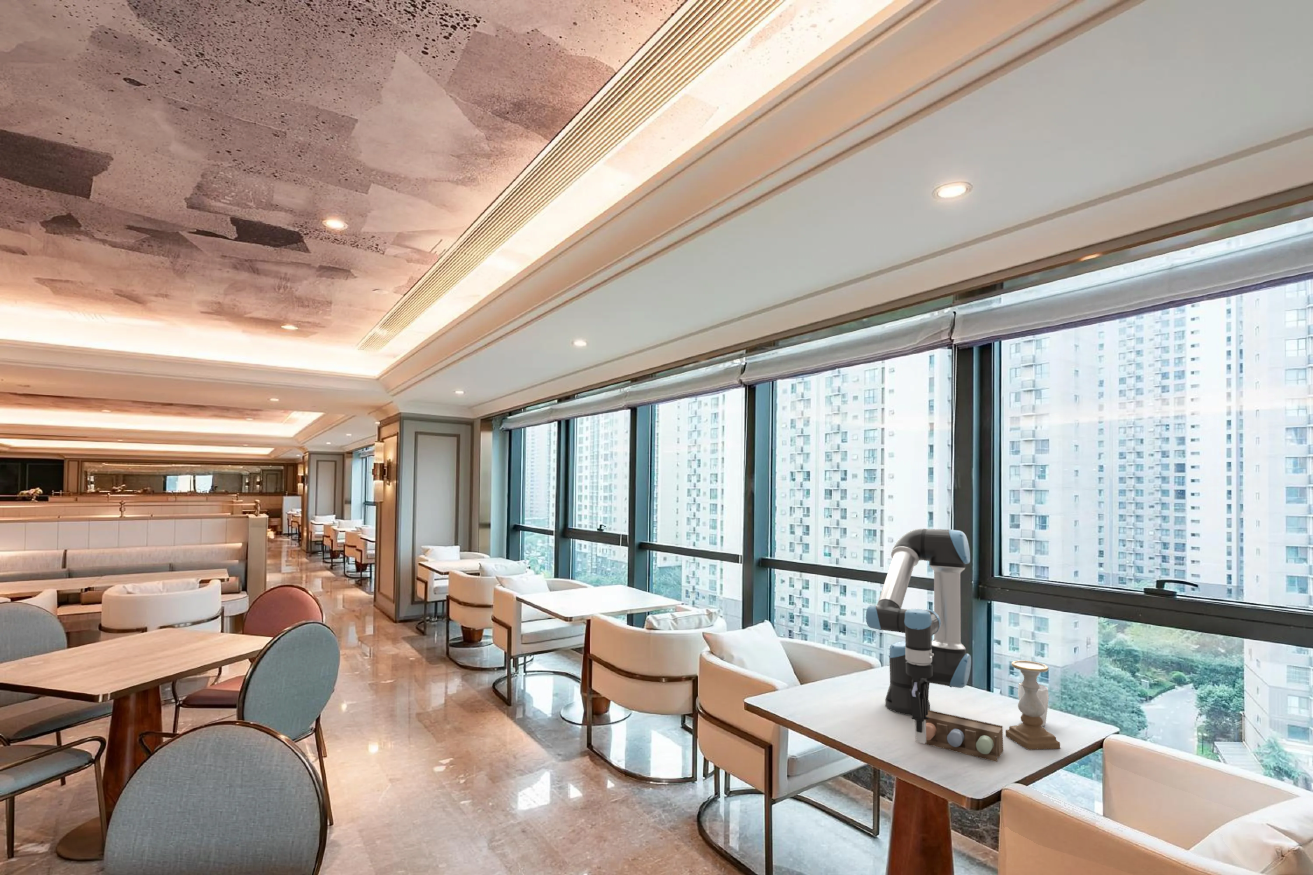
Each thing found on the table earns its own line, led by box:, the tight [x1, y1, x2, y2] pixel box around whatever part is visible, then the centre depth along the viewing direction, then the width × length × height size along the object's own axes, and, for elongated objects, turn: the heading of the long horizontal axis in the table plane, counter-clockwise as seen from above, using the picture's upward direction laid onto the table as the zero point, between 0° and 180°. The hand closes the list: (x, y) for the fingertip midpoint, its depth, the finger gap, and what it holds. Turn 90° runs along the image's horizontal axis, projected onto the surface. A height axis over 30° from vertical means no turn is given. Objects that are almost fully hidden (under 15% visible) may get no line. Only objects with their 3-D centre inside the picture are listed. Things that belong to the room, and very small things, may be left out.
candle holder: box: [1005, 659, 1061, 751], centre depth 200 cm, size 11×11×24 cm
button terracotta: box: [926, 723, 937, 740], centre depth 197 cm, size 4×4×4 cm
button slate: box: [947, 729, 964, 747], centre depth 192 cm, size 4×4×4 cm
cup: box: [1017, 682, 1050, 727], centre depth 216 cm, size 9×9×12 cm
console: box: [924, 709, 1004, 763], centre depth 196 cm, size 22×10×7 cm, turn 52°
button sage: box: [976, 735, 994, 754], centre depth 187 cm, size 4×4×4 cm
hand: (920, 741), depth 191 cm, fingers closed
